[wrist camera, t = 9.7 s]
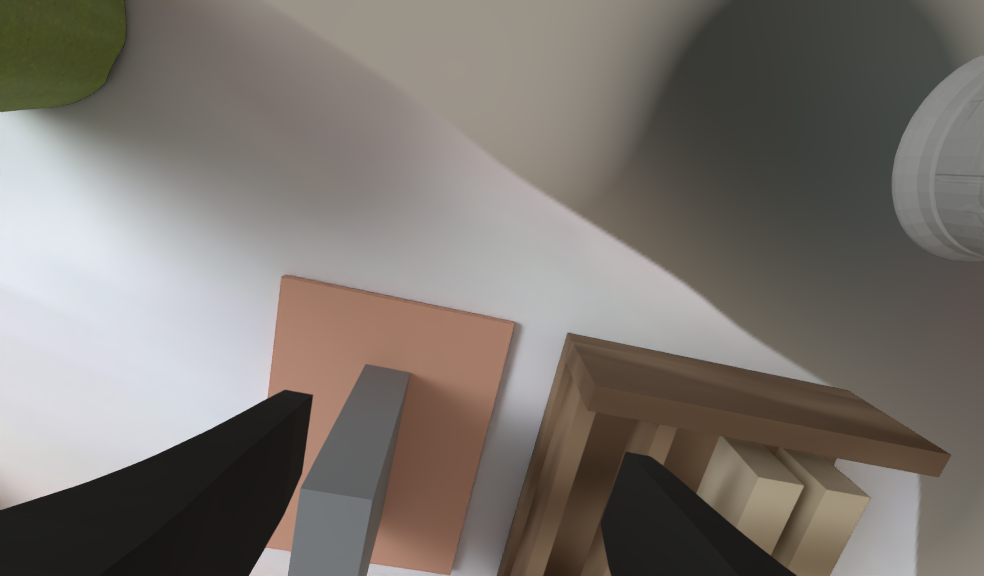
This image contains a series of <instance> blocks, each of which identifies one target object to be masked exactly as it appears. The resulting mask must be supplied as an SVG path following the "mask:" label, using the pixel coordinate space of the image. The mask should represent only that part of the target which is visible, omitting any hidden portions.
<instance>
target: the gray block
mask: <svg viewBox="0 0 984 576" xmlns="http://www.w3.org/2000/svg"><path fill="white" fill-rule="evenodd" d="M409 377H410V372H405V371H400V370H395V369H390V368H385V367H379V366H374V365H369V364H365V366H364V368H363V370H362V372H361V374H360V376H359V377H358V379H357V381H356V383H355V385H354V387H353V389H352V391H351V393H350V395H349V397H348V398H347V400H346V402H345V404H344V406H343V408H342V410H341V412H340V414H339V416H338V417H337V419H336V421H335V423H334V425H333V427H332V429H331V431H330V433H329V435H328V437H327V438H326V440H325V442H324V444H323V446H322V448H321V450H320V452H319V454H318V456H317V457H316V459H315V461H314V463H313V465H312V467H311V469H310V471H309V473H308V475H307V477H306V478H305V480H304V482H303V484H302V486H301V488H300V494H299V501H298V508H297V515H296V522H295V529H294V536H293V543H292V550H291V557H290V564H289V572H288V576H367V572H368V568H369V564H370V560H371V556H372V552H373V548H374V545H375V541H376V537H377V533H378V529H379V525H380V521H381V517H382V512H383V507H384V502H385V497H386V492H387V487H388V482H389V477H390V472H391V467H392V462H393V457H394V452H395V447H396V442H397V437H398V432H399V427H400V422H401V417H402V412H403V407H404V402H405V397H406V392H407V387H408V382H409Z"/></svg>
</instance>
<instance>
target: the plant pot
mask: <svg viewBox="0 0 984 576" xmlns="http://www.w3.org/2000/svg"><path fill="white" fill-rule="evenodd" d="M125 36H126V15H125V4H124V0H0V112H5V111H16V110H26V109H36V108H46V107H57V106H63V105H67V104H71V103H74V102H77V101H79V100H81V99H84V98H86V97H87V96H89V95H91V94H93V93H94V92H95V91H97V90H98V89H99V88H100V87H101V86H102V85H103V84H104V83H105V82H106V80H107V76H108V74H109V71H110V69H111V67H112V65H113V63H114V61H115V59H116V57H117V56H118V54H119V52H120V51H121V49H122V48H123V45H124V42H125Z"/></svg>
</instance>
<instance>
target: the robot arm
mask: <svg viewBox="0 0 984 576" xmlns="http://www.w3.org/2000/svg"><path fill="white" fill-rule="evenodd" d="M312 401H313V395H312V394H307V393H301V392H296V391H290V390H283V391H281V392H279V393H277V394H275V395H273V396H271V397H270V398H268V399H266V400H264V401H262V402H260V403H259V404H257V405H255V406H253V407H251V408H249V409H248V410H246V411H244V412H242V413H240V414H238V415H236V416H235V417H233V418H231V419H229V420H227V421H225V422H223V423H221V424H219V425H217V426H216V427H214V428H212V429H210V430H208V431H206V432H204V433H202V434H199V435H197V436H195V437H193V438H191V439H189V440H187V441H185V442H182V443H180V444H178V445H176V446H174V447H172V448H170V449H168V450H166V451H163V452H161V453H159V454H157V455H155V456H152V457H150V458H148V459H145V460H143V461H141V462H138V463H136V464H133V465H131V466H128V467H126V468H123V469H121V470H118V471H115V472H113V473H110V474H108V475H105V476H102V477H100V478H97V479H94V480H92V481H89V482H86V483H83V484H81V485H78V486H75V487H72V488H68V489H65V490H62V491H59V492H56V493H53V494H50V495H47V496H44V497H40V498H37V499H34V500H31V501H28V502H25V503H22V504H19V505H16V506H12V507H9V508H6V509H3V510H0V576H249V574H250V573H251V571H252V569H253V568H254V566H255V564H256V562H257V561H258V559H259V557H260V556H261V554H262V552H263V551H264V549H265V547H266V545H267V544H268V542H269V540H270V539H271V537H272V535H273V533H274V532H275V530H276V528H277V527H278V525H279V523H280V521H281V520H282V518H283V516H284V514H285V511H286V509H287V507H288V505H289V503H290V500H291V498H292V496H293V494H294V491H295V489H296V487H297V484H298V482H299V480H300V477H301V475H302V471H303V464H304V457H305V450H306V443H307V436H308V429H309V422H310V415H311V408H312ZM601 529H602V535H603V541H604V546H605V552H606V556H607V561H608V566H609V570H610V573H611V576H797V575H795V574H794V573H793V572H791V571H790V570H789V569H787V568H786V567H785V566H783V565H782V564H781V563H779V562H778V561H777V560H776V559H774V558H773V557H772V556H771V555H769V554H768V553H767V552H765V551H764V550H763V549H762V548H760V547H759V546H758V545H757V544H755V543H754V542H753V541H752V540H750V539H749V538H748V537H747V536H745V535H744V534H743V533H742V532H741V531H739V530H738V529H737V528H736V527H735V526H733V525H732V524H731V523H730V522H729V521H727V520H726V519H725V518H724V517H723V516H721V515H720V514H719V513H718V512H717V511H716V510H714V509H713V508H712V507H711V506H710V505H709V504H708V503H706V502H705V501H704V500H703V499H702V498H701V497H699V496H698V495H697V494H696V493H695V492H694V491H693V490H691V489H690V488H689V487H688V486H687V485H686V484H684V483H683V482H682V481H681V480H680V479H679V478H678V477H676V476H675V475H674V474H673V473H672V472H670V471H669V470H668V469H667V468H665V467H664V466H663V465H662V464H660V463H659V462H658V461H656V460H655V459H654V458H652V457H651V456H647V455H641V454H636V453H630V452H625V455H624V458H623V460H622V463H621V466H620V469H619V472H618V475H617V478H616V480H615V483H614V486H613V489H612V492H611V495H610V497H609V500H608V503H607V506H606V509H605V512H604V515H603V517H602V520H601Z"/></svg>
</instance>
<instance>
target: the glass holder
mask: <svg viewBox="0 0 984 576" xmlns="http://www.w3.org/2000/svg"><path fill="white" fill-rule="evenodd" d="M892 196H893V202H894V208H895V211H896V214H897V216H898V219H899V221H900V224H901V226H902V227H903V228H904V230H905V232H906V233H907V235H908V236H909V237H910V238H911V239H912V240H913V241H914V242H915V243H916V244H917V245H918V246H919V247H920V248H922V249H924V250H925V251H927V252H929V253H930V254H932V255H935V256H937V257H940V258H944V259H947V260H953V261H962V262H975V261H984V55H981V56H979V57H977V58H974V59H973V60H971V61H970V62H968V63H966V64H965V65H963V66H961V67H960V68H958V69H957V70H955V71H954V72H953V73H952V74H950V75H949V76H948V77H947V78H946V79H944V80H943V81H942V82H941V83H940V84H939V85H938V86H937V87H936V88H935V89H934V90H933V91H932V92H931V93H930V94H929V95H928V96H927V98H926V99H925V100H924V101H923V103H922V104H921V105H920V107H919V108H918V110H917V111H916V112H915V114H914V116H913V117H912V118H911V121H910V122H909V124H908V126H907V128H906V130H905V132H904V134H903V136H902V139H901V142H900V144H899V147H898V150H897V153H896V156H895V161H894V167H893V173H892Z"/></svg>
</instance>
